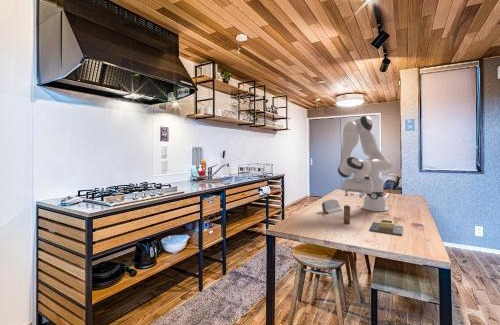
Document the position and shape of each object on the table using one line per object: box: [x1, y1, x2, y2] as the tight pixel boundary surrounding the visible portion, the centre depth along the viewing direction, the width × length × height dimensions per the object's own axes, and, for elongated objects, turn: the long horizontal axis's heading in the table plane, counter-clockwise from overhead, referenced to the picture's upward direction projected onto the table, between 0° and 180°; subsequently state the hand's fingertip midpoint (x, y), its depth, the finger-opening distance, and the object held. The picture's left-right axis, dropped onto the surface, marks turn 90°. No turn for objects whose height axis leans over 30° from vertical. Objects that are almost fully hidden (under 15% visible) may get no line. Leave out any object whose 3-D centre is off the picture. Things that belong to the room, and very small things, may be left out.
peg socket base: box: [369, 219, 404, 237], centre depth 150 cm, size 16×16×4 cm
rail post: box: [343, 204, 351, 225], centre depth 161 cm, size 4×4×11 cm
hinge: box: [321, 198, 343, 215], centre depth 192 cm, size 17×5×10 cm, turn 125°
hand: (353, 196), depth 169 cm, fingers open, 8 cm apart
